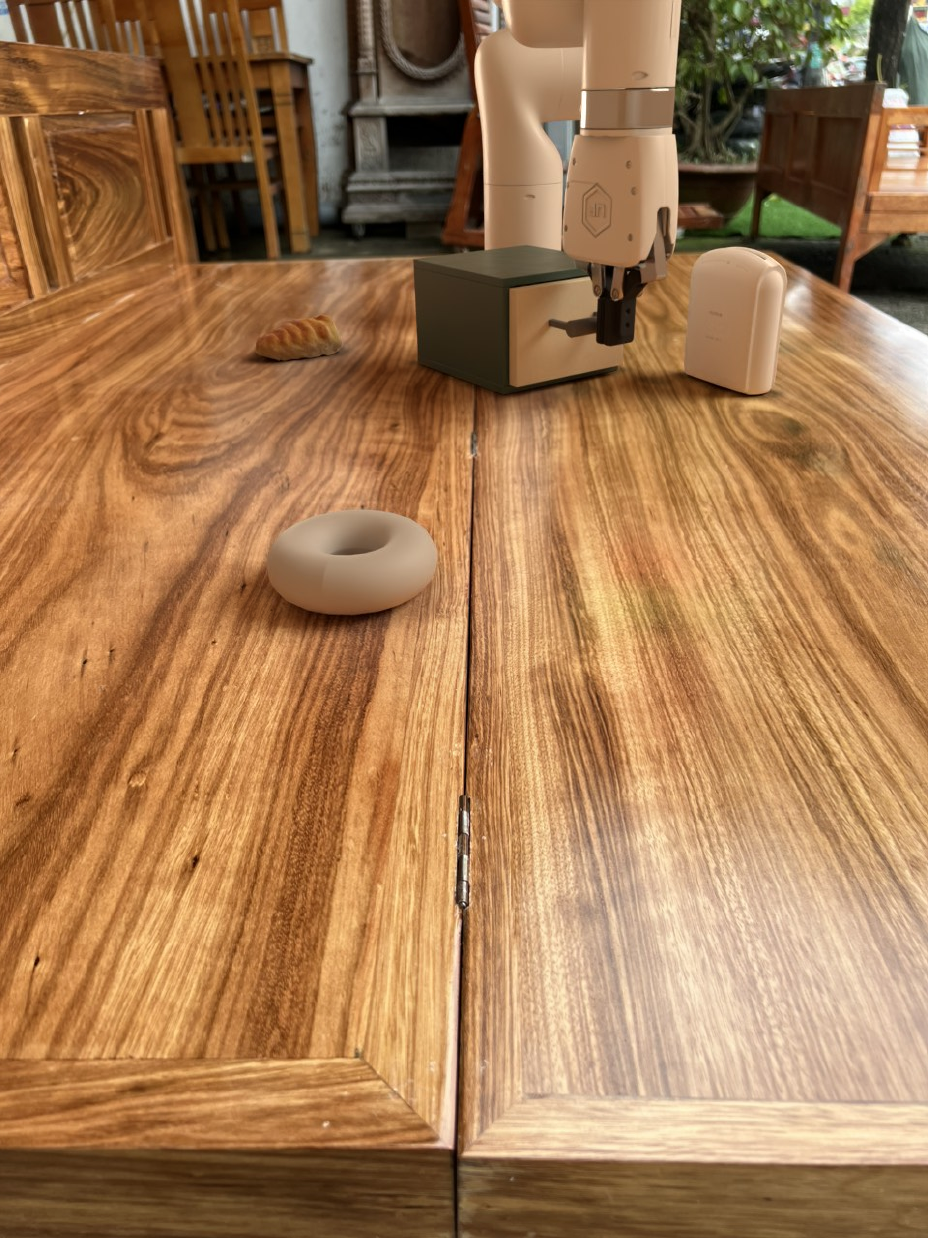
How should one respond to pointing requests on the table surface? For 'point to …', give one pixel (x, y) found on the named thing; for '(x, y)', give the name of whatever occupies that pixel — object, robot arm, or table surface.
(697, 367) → the photo printer
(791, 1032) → the table surface
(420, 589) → the donut
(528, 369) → the drawer
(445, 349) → the cabinet
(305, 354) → the pastry
